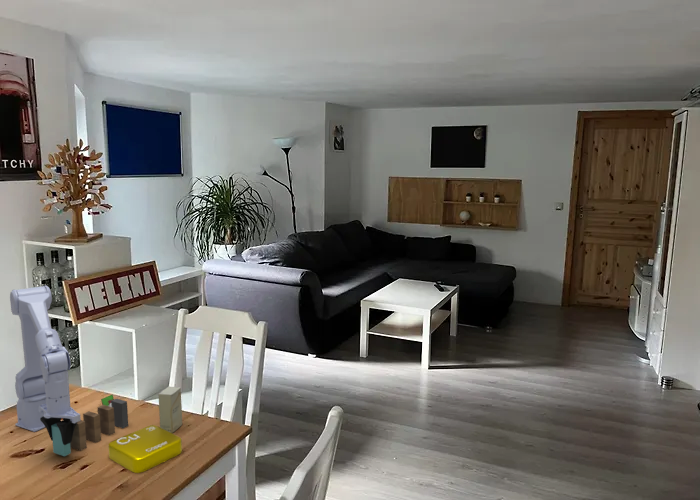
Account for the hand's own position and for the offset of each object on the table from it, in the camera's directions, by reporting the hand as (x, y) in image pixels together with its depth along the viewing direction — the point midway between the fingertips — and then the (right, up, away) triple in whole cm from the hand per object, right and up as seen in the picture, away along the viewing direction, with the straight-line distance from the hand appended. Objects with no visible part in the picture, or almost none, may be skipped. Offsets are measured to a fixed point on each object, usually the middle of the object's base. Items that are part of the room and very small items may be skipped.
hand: (61, 441), depth 155 cm
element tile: (+23, -5, +2) cm, 23 cm away
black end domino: (+9, -1, +18) cm, 20 cm away
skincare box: (+25, -2, +17) cm, 30 cm away
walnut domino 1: (+2, -4, +5) cm, 7 cm away
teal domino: (0, -3, +1) cm, 3 cm away
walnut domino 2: (+4, -3, +10) cm, 11 cm away
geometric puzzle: (+3, -1, +25) cm, 25 cm away
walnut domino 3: (+7, -2, +14) cm, 16 cm away
